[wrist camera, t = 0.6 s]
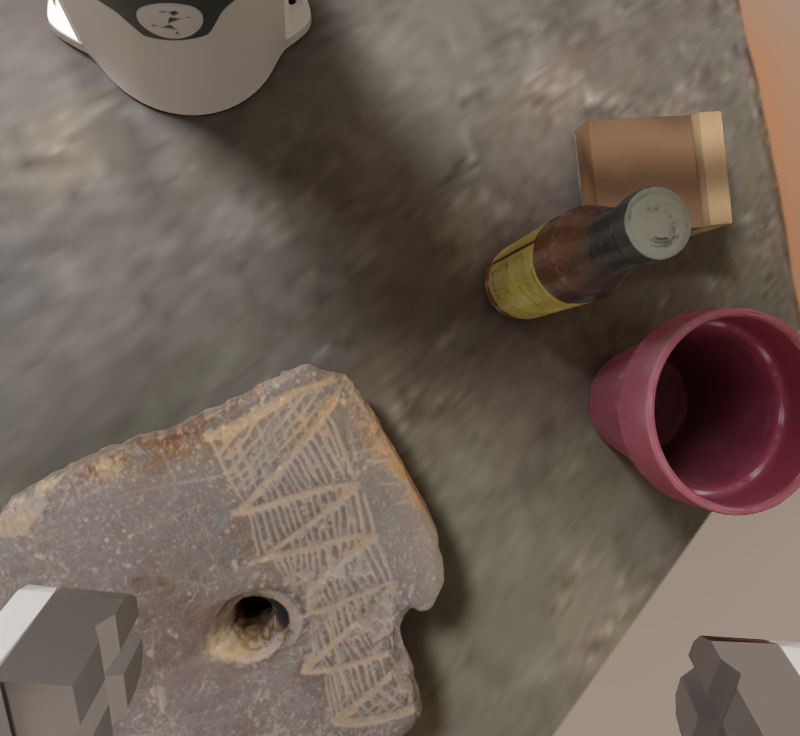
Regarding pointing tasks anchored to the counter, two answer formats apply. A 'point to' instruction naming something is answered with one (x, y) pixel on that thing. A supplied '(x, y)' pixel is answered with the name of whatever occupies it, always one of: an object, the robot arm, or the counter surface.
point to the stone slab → (248, 562)
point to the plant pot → (708, 409)
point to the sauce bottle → (586, 253)
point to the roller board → (657, 163)
